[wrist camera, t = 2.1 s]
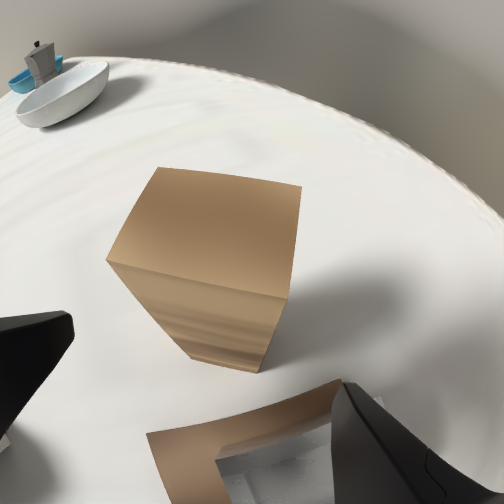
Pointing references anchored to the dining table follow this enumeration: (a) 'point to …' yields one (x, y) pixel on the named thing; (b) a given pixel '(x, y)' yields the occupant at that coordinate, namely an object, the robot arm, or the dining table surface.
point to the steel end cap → (282, 465)
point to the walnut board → (221, 434)
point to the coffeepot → (42, 63)
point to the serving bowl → (63, 95)
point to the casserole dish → (29, 78)
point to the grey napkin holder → (4, 443)
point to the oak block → (211, 261)
